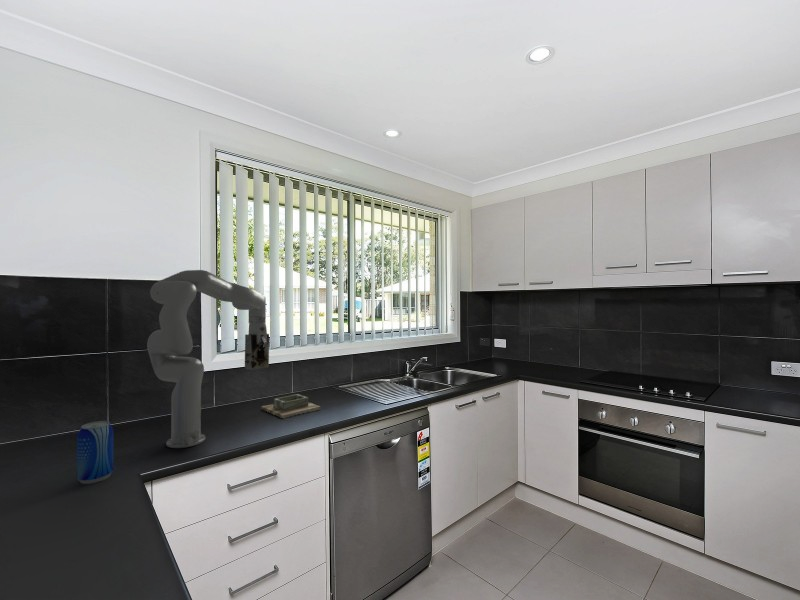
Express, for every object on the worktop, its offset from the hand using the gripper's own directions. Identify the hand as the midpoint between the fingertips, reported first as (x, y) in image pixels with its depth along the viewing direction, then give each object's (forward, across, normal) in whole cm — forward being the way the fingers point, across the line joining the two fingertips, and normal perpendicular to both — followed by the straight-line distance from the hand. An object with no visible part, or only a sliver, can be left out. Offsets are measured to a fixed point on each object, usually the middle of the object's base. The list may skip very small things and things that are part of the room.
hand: (257, 357), depth 178 cm
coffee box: (+5, 0, 0) cm, 5 cm away
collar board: (+26, -8, -14) cm, 30 cm away
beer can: (+26, -28, +64) cm, 74 cm away
